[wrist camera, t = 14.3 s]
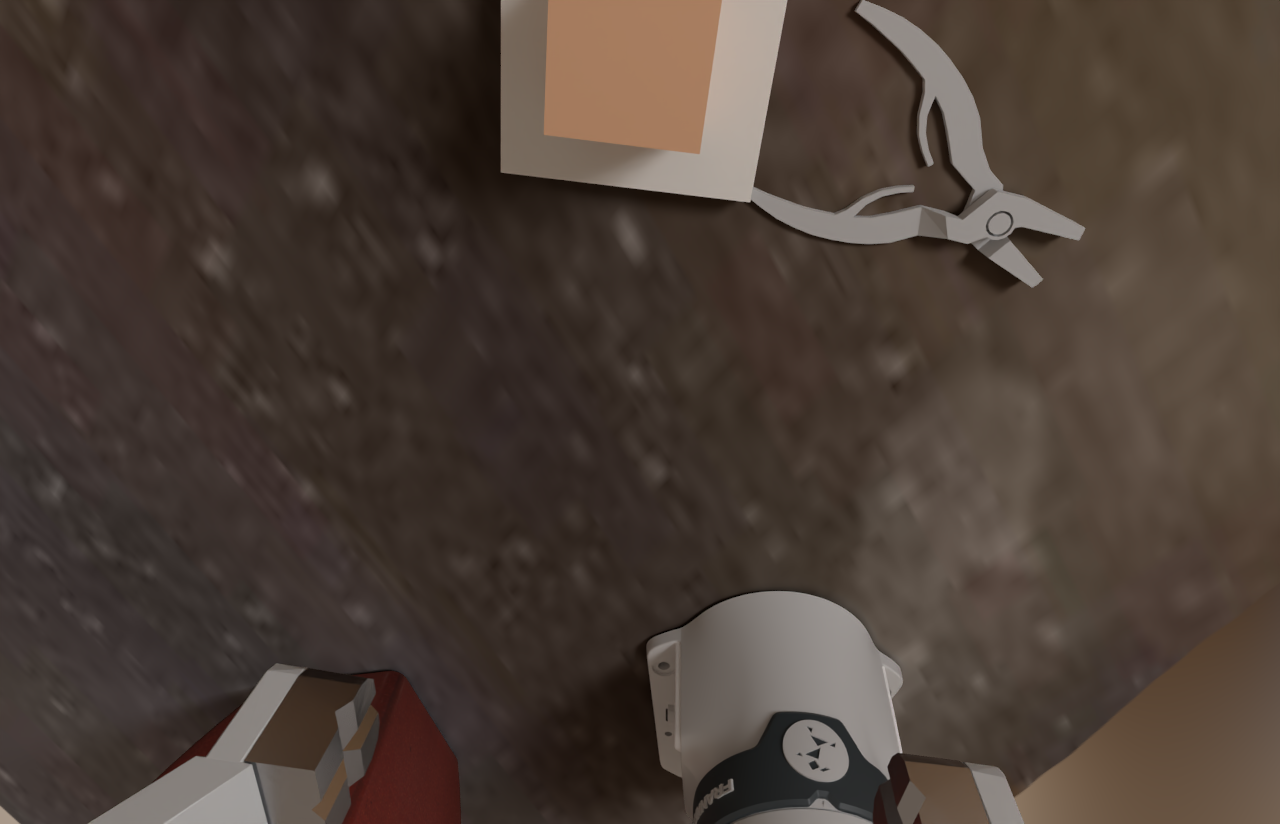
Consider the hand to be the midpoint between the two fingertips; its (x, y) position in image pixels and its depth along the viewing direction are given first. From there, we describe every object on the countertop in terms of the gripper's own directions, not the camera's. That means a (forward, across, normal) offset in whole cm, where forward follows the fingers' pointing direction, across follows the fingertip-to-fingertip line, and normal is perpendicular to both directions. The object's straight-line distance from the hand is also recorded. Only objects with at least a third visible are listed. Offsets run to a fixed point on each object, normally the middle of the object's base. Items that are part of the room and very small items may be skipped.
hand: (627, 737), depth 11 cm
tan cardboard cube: (+27, +3, -9) cm, 28 cm away
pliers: (+30, -11, -5) cm, 32 cm away
